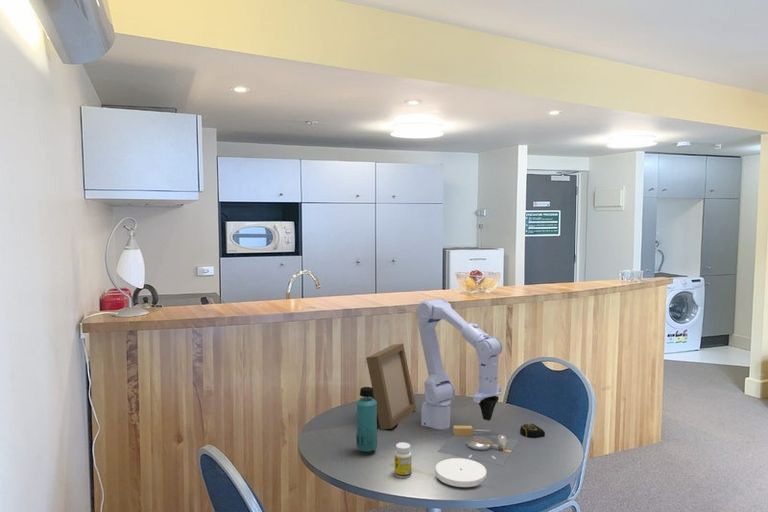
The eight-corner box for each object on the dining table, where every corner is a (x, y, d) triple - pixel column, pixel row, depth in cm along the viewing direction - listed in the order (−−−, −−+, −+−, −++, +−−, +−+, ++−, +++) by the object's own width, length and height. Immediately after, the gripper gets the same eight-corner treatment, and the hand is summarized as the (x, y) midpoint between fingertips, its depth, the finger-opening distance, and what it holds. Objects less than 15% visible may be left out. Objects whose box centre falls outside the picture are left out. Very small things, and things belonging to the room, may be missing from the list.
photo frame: (416, 411, 200) (417, 345, 199) (391, 431, 181) (392, 358, 179) (380, 405, 207) (381, 340, 205) (353, 423, 187) (353, 353, 186)
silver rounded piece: (463, 447, 165) (463, 435, 164) (469, 438, 172) (469, 426, 172) (503, 454, 160) (503, 441, 160) (508, 444, 167) (508, 432, 167)
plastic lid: (438, 464, 157) (438, 455, 157) (487, 469, 154) (487, 461, 154) (432, 487, 144) (432, 478, 143) (485, 493, 140) (485, 484, 140)
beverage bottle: (380, 449, 166) (380, 385, 165) (372, 458, 160) (373, 392, 159) (360, 446, 168) (360, 383, 167) (352, 454, 162) (352, 389, 161)
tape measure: (545, 440, 174) (546, 429, 174) (527, 443, 172) (527, 431, 172) (533, 432, 181) (534, 422, 181) (515, 435, 179) (516, 424, 179)
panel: (437, 455, 162) (437, 450, 162) (458, 432, 180) (458, 428, 180) (502, 469, 153) (502, 464, 153) (518, 444, 171) (518, 439, 171)
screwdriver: (454, 435, 175) (454, 428, 174) (453, 432, 177) (453, 425, 177) (491, 436, 174) (491, 429, 174) (490, 433, 177) (490, 426, 176)
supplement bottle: (393, 470, 152) (393, 441, 152) (410, 470, 153) (410, 441, 152) (395, 478, 147) (395, 449, 147) (412, 478, 148) (412, 448, 147)
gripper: (488, 384, 159) (487, 429, 160) (510, 374, 170) (509, 416, 171) (467, 379, 164) (466, 423, 164) (490, 369, 175) (489, 410, 176)
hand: (486, 419), depth 168 cm, fingers closed
